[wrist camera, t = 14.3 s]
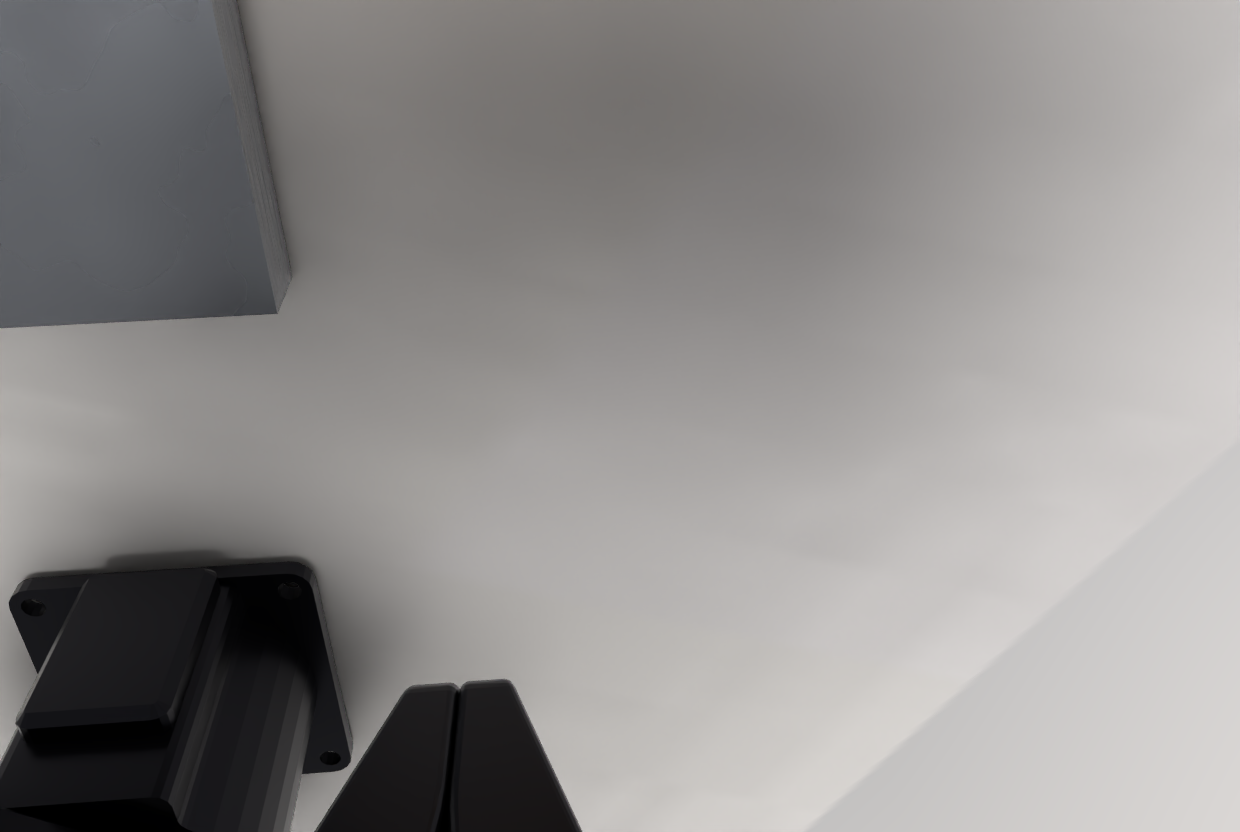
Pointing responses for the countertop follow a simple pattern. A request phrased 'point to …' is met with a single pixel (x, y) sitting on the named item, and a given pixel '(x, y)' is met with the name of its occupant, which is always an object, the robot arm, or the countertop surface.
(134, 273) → the label panel
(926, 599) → the countertop surface
